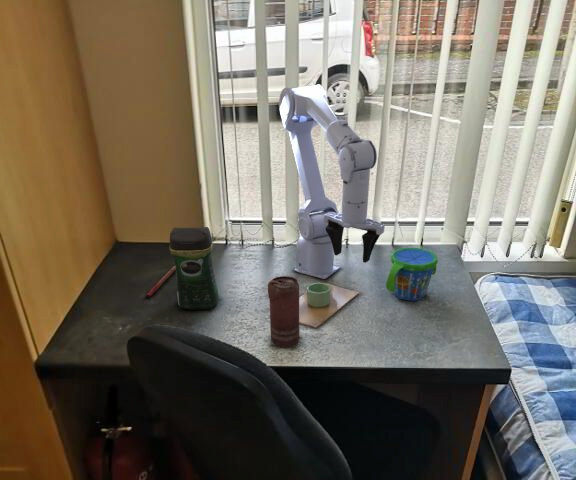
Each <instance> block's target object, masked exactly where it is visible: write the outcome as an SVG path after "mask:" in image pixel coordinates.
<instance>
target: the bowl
mask: <svg viewBox="0 0 576 480" xmlns="http://www.w3.org/2000/svg"><path fill="white" fill-rule="evenodd" d="M325 283H326V282H323V283H320V282H313V283H312V282H311V283H310V284H308V285H307V286H306V292H307V303H308V304H309V305H311V306H312V307H316V308H321V307H325V306H327V305H328V304H329V303H330V298H331V287H330V286H329V285H328V284H329V283H327V284H325Z"/></svg>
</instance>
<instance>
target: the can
mask: <svg viewBox="0 0 576 480" xmlns="http://www.w3.org/2000/svg"><path fill="white" fill-rule="evenodd" d="M267 296H268V299H269V323H270V325H269V326H270V327H269V328H270V341H271V342H272V344H273V345H274V346H275V347H277V348H282V349H288V348H292V347H295V346H296V345H297V344H298V343H299V342H300V323H299V297H300V283H299V282H298V279H297V278H295V277H293V276H289V275H281V276H276V277H274V278H272V279H271V280H269V281H268V283H267Z"/></svg>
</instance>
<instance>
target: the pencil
mask: <svg viewBox="0 0 576 480" xmlns="http://www.w3.org/2000/svg"><path fill="white" fill-rule="evenodd" d="M174 272H176V267H175V265H173V266H172V267H171V268H170V269H169V270H168V271H167V272H166V273H165V275H163V276H162V277H161V279H160V280H158V282H157V283H156V284H155V285H154V286H153V287H152V288H151V289H150V290H149V291H148V293H147V294H146V295H145V297H146V298H147V299H150V298H151V297H152V296H153V295H154V293H155V292H156V291H157V290H158V289H159V288H161V286H162V285H163V284H164V283H165V282H166V281H167V280H168V278H170V277H171V276H172V274H173V273H174Z"/></svg>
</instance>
